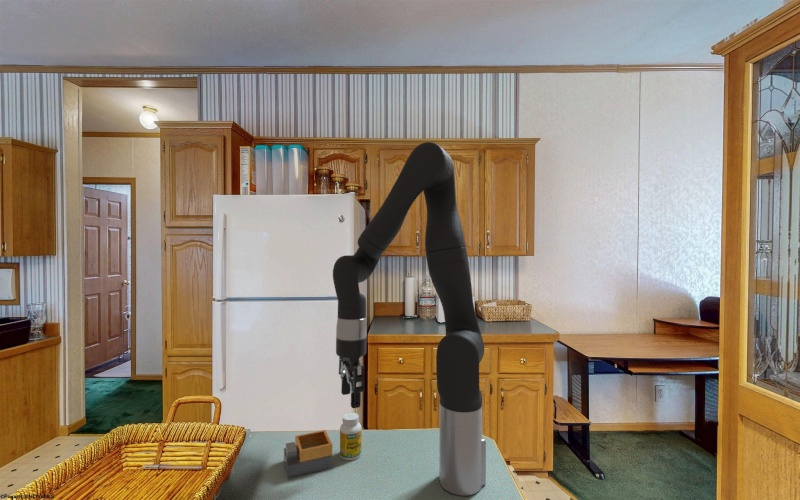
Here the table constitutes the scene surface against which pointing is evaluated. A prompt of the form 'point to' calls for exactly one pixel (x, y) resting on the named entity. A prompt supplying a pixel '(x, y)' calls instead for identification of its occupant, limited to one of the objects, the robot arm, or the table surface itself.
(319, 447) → the orange open box frame
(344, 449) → the supplement bottle
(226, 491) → the table surface
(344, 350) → the robot arm
